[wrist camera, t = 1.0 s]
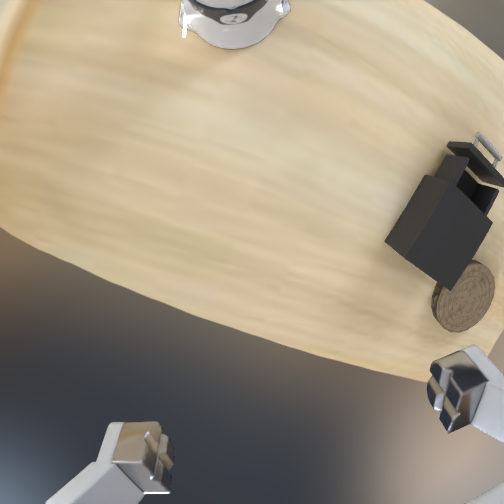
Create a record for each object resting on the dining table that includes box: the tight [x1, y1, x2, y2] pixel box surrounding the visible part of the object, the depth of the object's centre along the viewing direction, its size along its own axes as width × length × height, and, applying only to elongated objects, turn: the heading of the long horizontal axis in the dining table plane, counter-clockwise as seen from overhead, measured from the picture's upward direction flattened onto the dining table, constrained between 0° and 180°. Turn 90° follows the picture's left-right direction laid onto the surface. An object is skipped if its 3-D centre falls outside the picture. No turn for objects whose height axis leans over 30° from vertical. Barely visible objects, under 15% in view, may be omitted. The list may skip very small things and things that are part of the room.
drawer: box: [435, 132, 504, 216], centre depth 47 cm, size 18×11×7 cm, turn 150°
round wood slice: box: [431, 260, 495, 332], centre depth 57 cm, size 16×16×3 cm
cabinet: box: [385, 175, 493, 291], centre depth 50 cm, size 15×13×9 cm
